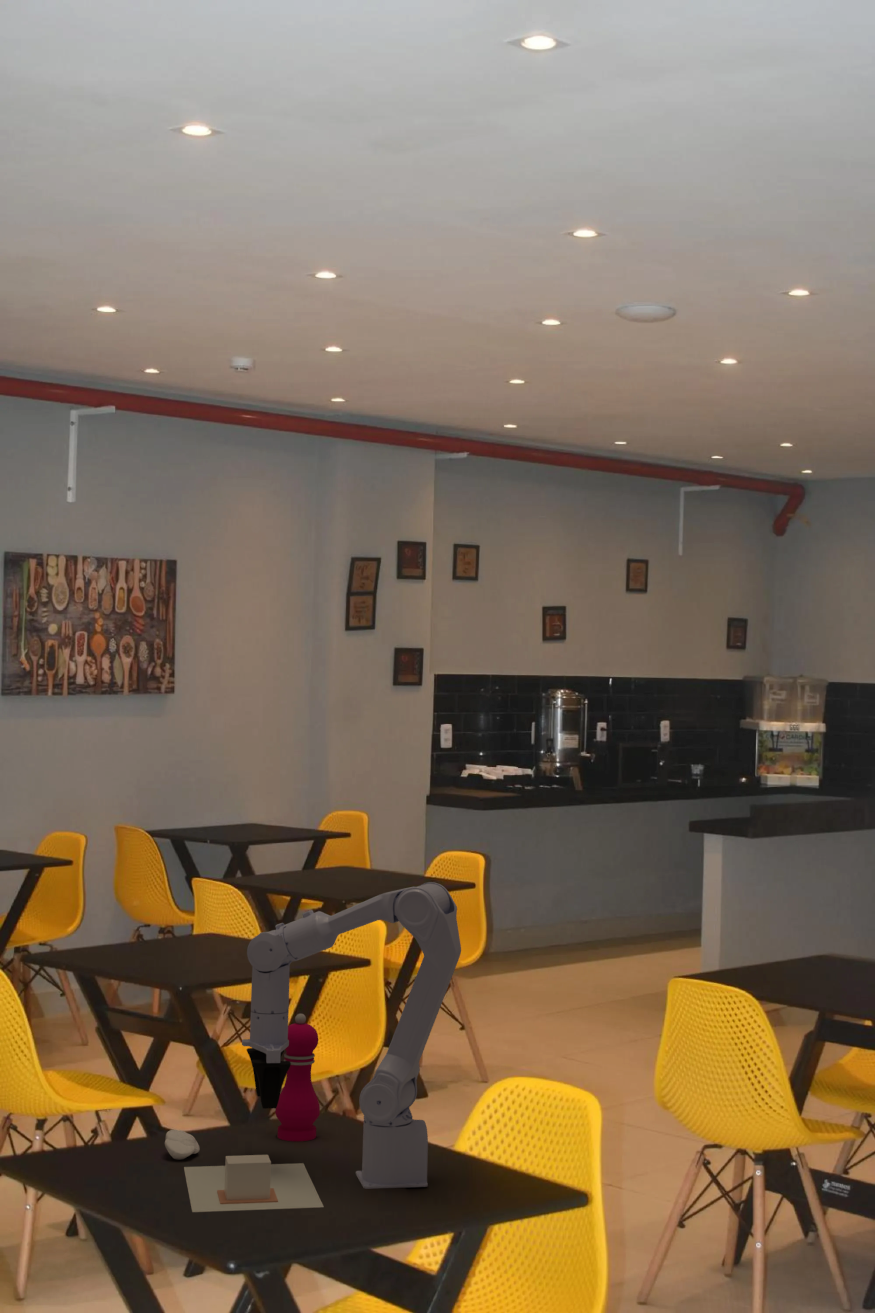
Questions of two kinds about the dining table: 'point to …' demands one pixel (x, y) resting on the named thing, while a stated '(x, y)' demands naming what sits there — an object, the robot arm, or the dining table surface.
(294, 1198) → the mat
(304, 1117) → the pepper mill
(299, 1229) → the dining table surface
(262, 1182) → the plain grayish brown block
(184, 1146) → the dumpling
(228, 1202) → the flat orange brown slab
